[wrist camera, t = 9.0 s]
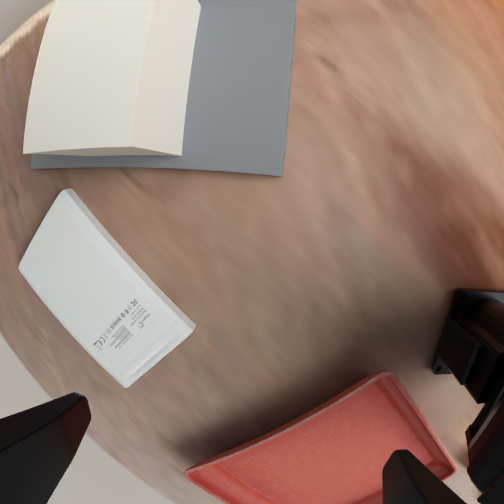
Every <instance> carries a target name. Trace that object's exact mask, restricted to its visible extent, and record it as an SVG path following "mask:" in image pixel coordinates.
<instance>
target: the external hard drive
mask: <svg viewBox="0 0 504 504" xmlns="http://www.w3.org/2000/svg"><path fill="white" fill-rule="evenodd" d="M18 269H19V271H20V272H21V274H22V275H23V276H24V278H25V279H26V280H27V282H28V283H29V284H30V286H31V287H32V288H33V290H34V291H35V292H36V293H37V295H38V296H39V297H40V299H41V300H42V301H43V302H44V303H45V305H46V306H47V307H48V308H49V310H50V311H51V312H52V313H53V314H54V316H55V317H56V318H57V319H58V320H59V321H60V323H61V324H62V325H63V326H64V327H65V328H66V329H67V330H68V332H69V333H70V334H71V335H72V336H73V337H74V338H75V339H76V340H77V341H78V342H79V344H80V345H81V346H82V347H83V348H84V349H85V350H86V351H87V352H88V353H89V354H90V355H91V356H92V357H93V358H94V359H95V360H96V361H97V362H98V363H99V364H100V365H101V366H102V367H103V368H104V369H105V370H106V371H107V372H108V373H109V374H110V375H111V376H113V377H114V378H115V379H116V380H117V381H118V382H119V383H120V384H121V385H122V386H123V387H124V388H128V387H129V386H130V385H131V384H132V383H133V382H135V381H136V380H137V379H138V378H139V377H141V376H142V375H143V374H144V373H145V372H147V371H148V370H149V369H150V368H151V367H152V366H154V365H155V364H156V363H157V362H158V361H160V360H161V359H162V358H163V357H164V356H166V355H167V354H168V353H169V352H170V351H171V350H173V349H174V348H175V347H176V346H177V345H179V344H180V343H181V342H182V341H183V340H184V339H186V338H187V337H188V336H189V335H190V334H191V333H192V332H193V330H194V329H195V327H196V324H195V323H194V322H193V321H192V320H191V319H190V318H189V317H188V316H187V315H186V314H185V313H184V312H183V311H181V310H180V309H179V308H178V307H177V306H176V305H175V304H174V303H173V302H172V301H171V300H170V299H169V298H168V297H167V296H166V294H165V293H164V292H163V291H162V290H161V289H160V288H159V287H158V286H157V285H156V284H155V283H154V282H153V281H152V280H151V279H150V278H149V277H148V276H147V274H146V273H145V272H144V271H143V270H142V269H141V268H140V267H139V266H138V265H137V264H136V263H135V262H134V260H133V259H132V258H131V257H130V256H129V255H128V254H127V253H126V252H125V251H124V250H123V248H122V247H121V246H120V245H119V244H118V243H117V242H116V241H115V239H114V238H113V237H112V236H111V235H110V234H109V233H108V231H107V230H106V229H105V228H104V227H103V226H102V224H101V223H100V222H99V221H98V220H97V218H96V217H95V216H94V215H93V214H92V212H91V211H90V210H89V209H88V208H87V206H86V205H85V204H84V203H83V202H82V200H81V199H80V198H79V197H78V195H77V194H76V193H75V192H74V190H73V189H71V188H70V189H64V190H62V191H61V193H60V194H59V195H58V196H57V198H56V199H55V201H54V203H53V204H52V206H51V208H50V209H49V211H48V213H47V214H46V216H45V218H44V219H43V221H42V223H41V225H40V226H39V228H38V230H37V232H36V233H35V235H34V237H33V239H32V240H31V242H30V244H29V246H28V248H27V250H26V252H25V254H24V256H23V258H22V260H21V262H20V264H19V266H18Z"/></svg>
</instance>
